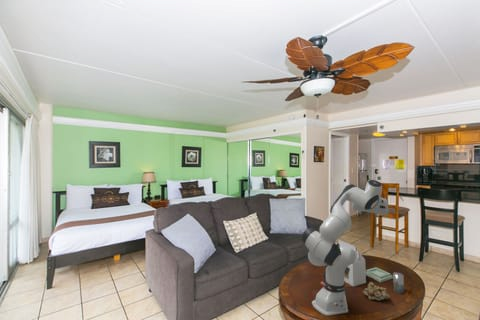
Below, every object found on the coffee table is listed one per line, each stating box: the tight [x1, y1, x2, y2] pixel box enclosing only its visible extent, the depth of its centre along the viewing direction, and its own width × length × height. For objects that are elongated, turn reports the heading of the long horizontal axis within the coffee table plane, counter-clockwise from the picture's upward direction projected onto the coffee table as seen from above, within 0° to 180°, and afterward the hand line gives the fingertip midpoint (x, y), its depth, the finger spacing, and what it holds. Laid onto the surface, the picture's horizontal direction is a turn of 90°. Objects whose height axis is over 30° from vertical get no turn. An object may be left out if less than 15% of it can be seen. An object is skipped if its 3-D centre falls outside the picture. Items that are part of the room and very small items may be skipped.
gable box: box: [335, 239, 367, 288], centre depth 174 cm, size 22×13×28 cm, turn 21°
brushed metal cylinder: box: [392, 271, 405, 295], centre depth 155 cm, size 6×6×12 cm
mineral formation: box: [362, 281, 390, 302], centre depth 147 cm, size 8×13×15 cm
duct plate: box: [366, 267, 393, 283], centre depth 176 cm, size 14×14×4 cm
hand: (368, 215), depth 145 cm, fingers open, 8 cm apart
